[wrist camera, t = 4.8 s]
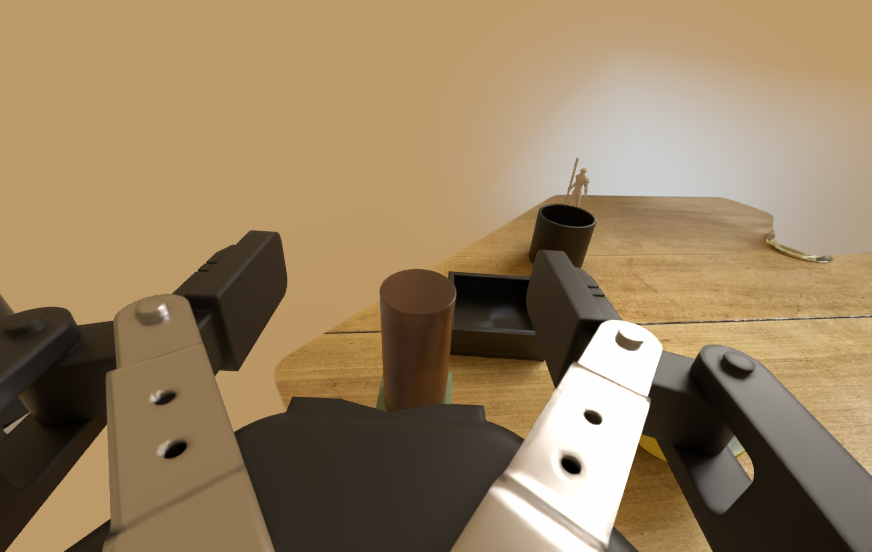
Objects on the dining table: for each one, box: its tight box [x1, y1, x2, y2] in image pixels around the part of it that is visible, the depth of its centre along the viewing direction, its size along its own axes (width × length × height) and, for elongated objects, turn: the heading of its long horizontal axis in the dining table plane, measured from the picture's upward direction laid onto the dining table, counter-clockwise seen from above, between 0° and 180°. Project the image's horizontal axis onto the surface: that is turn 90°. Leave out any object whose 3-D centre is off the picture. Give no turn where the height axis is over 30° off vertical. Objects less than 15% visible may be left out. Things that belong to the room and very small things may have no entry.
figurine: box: [564, 158, 589, 208], centre depth 82 cm, size 5×5×12 cm
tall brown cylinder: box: [380, 269, 457, 411], centre depth 27 cm, size 5×5×11 cm
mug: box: [529, 204, 596, 268], centre depth 66 cm, size 9×12×9 cm
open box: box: [448, 271, 545, 361], centre depth 51 cm, size 13×13×4 cm
